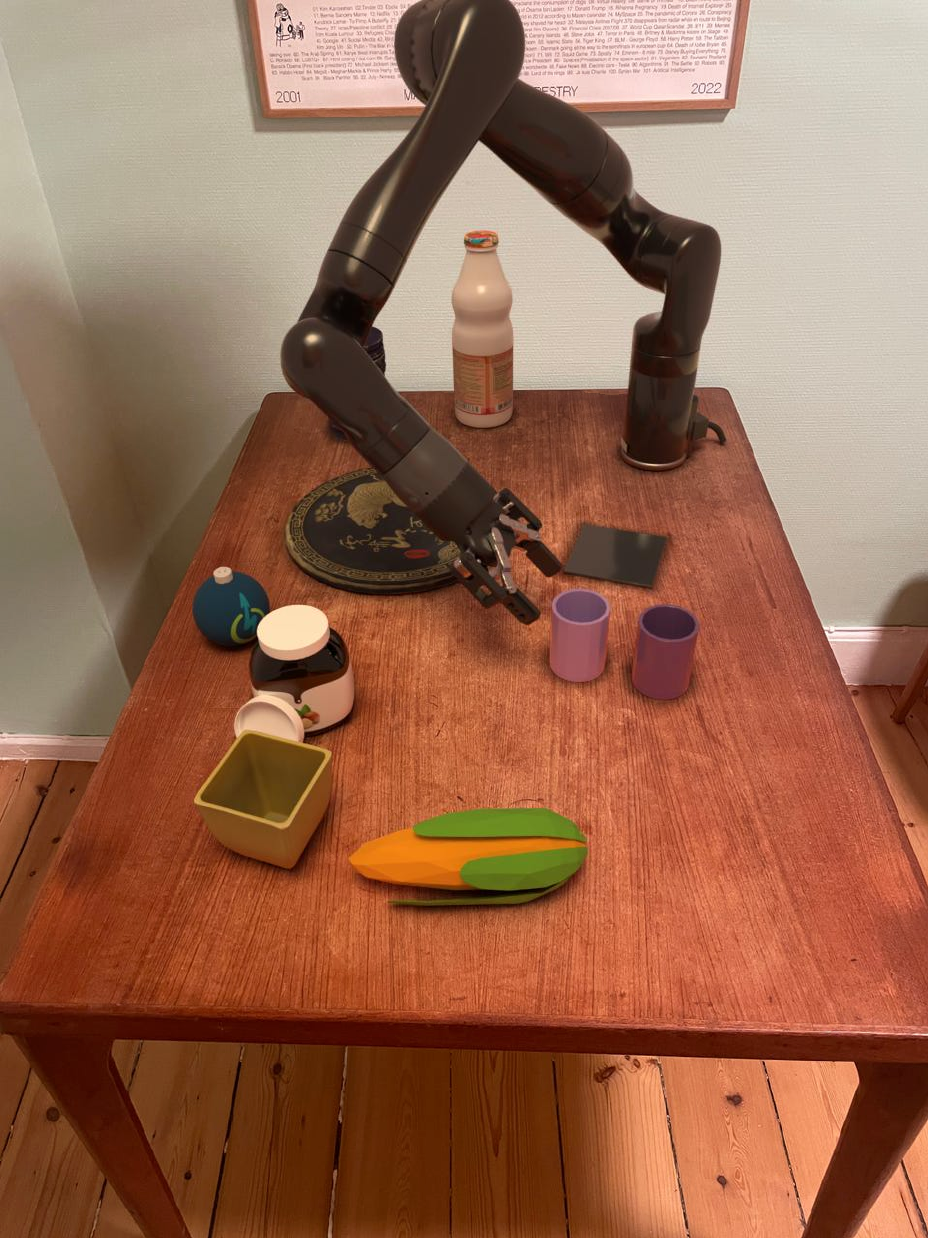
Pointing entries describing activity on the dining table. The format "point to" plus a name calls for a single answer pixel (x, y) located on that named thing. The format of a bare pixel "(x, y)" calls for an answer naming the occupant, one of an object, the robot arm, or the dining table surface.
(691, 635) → the plum cup
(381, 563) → the decorative plate
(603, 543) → the coaster
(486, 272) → the fruit juice
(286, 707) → the spread jar
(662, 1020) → the dining table surface
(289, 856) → the flower pot
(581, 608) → the lilac cup
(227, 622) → the christmas ornament
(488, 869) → the corn
